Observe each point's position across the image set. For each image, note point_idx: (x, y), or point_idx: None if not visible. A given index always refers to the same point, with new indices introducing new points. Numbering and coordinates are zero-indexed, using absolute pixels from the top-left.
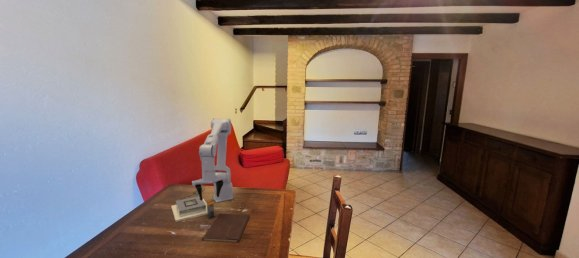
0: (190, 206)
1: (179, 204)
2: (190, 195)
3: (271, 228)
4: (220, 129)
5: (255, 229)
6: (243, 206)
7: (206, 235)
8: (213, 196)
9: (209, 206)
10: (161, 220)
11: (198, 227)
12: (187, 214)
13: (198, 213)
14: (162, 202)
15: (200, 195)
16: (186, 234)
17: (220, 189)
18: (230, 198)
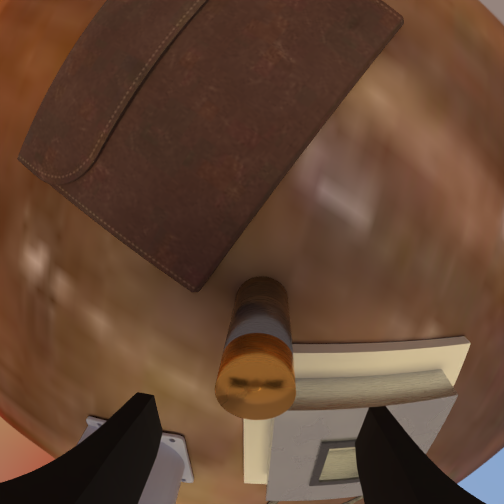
0: None
1: None
2: None
3: (9, 4)
4: None
5: (60, 4)
6: (38, 309)
7: (376, 22)
8: (188, 479)
9: (277, 337)
10: (490, 377)
11: (390, 195)
12: (402, 376)
13: (335, 367)
14: None
15: (418, 456)
16: (469, 156)
17: (61, 458)
18: (99, 423)
